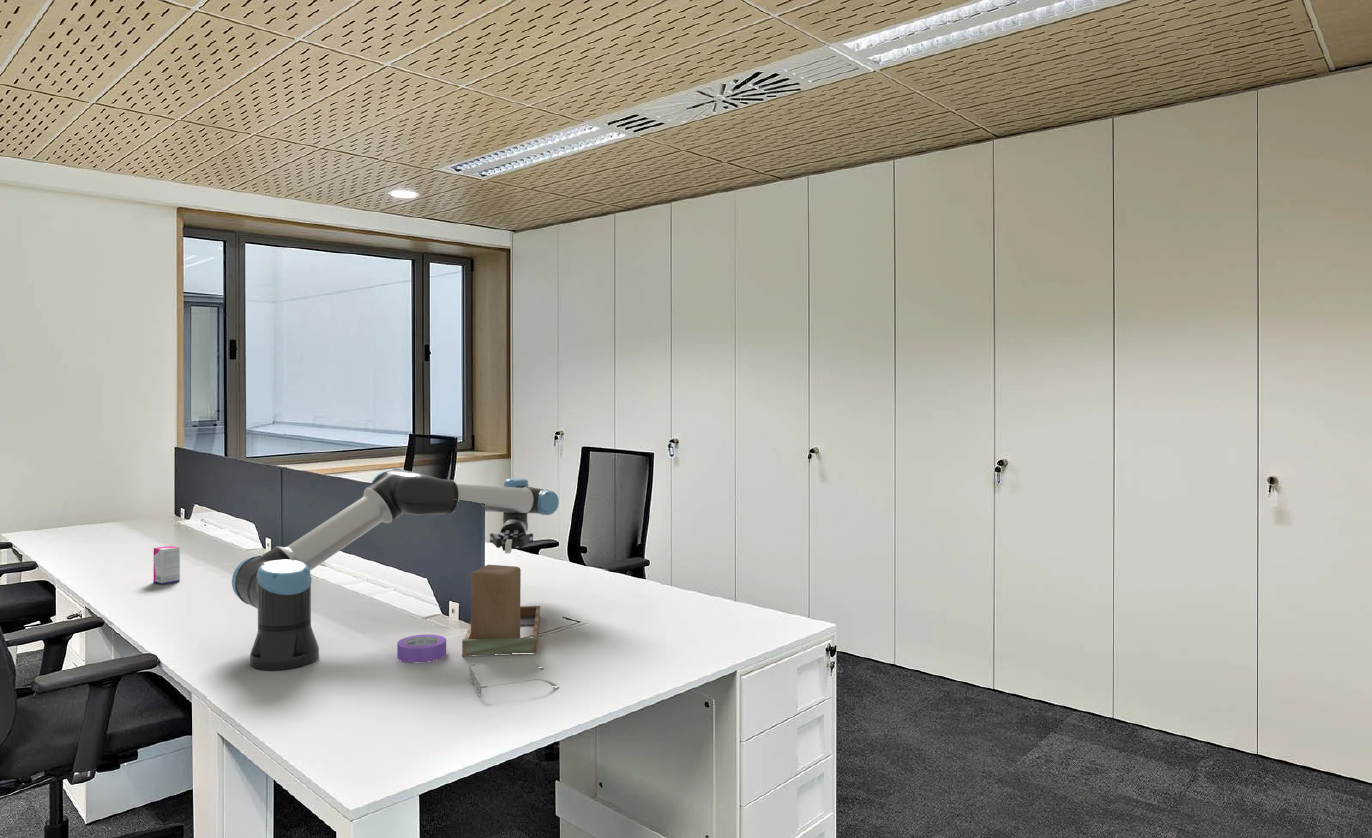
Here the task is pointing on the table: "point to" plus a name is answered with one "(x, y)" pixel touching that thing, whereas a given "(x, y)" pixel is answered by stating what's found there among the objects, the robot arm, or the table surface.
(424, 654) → the masking tape
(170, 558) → the supplement box
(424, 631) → the table surface
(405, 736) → the table surface
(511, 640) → the wooden tray
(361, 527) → the robot arm
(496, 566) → the block
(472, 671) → the eyeglasses
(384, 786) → the table surface
